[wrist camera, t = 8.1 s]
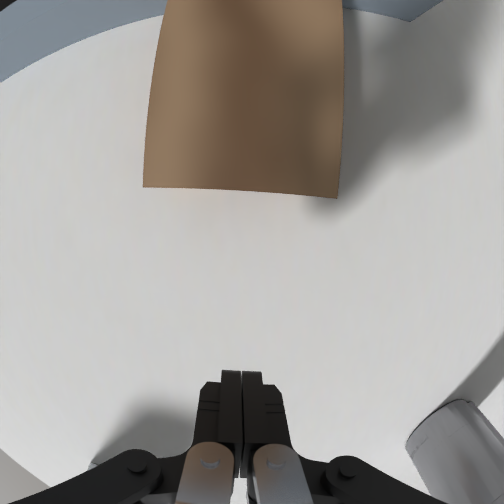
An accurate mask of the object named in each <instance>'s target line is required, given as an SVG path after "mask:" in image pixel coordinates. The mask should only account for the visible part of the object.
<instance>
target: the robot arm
mask: <svg viewBox="0 0 504 504" xmlns="http://www.w3.org/2000/svg"><path fill="white" fill-rule="evenodd" d="M406 451H407V452H408V454H409V456H410V458H411V459H412V461H413V463H414V465H415V467H416V468H417V470H418V472H419V474H420V476H421V478H422V480H423V481H424V483H425V485H426V487H427V489H428V491H429V493H430V494H431V496H429V495H427V494H425V493H423V492H421V491H419V490H417V489H415V488H412V487H410V486H408V485H406V484H404V483H402V482H400V481H399V480H397V479H395V478H393V477H391V476H389V475H387V474H385V473H384V472H382V471H380V470H378V469H376V468H375V467H373V466H371V465H369V464H368V463H366V462H364V461H362V460H361V459H359V458H357V457H354V456H339V457H336V458H334V459H333V460H331V461H330V462H329V463H326V462H319V461H313V460H309V459H306V458H304V457H302V456H300V455H299V454H298V453H297V452H295V450H294V449H293V447H292V445H291V440H290V435H289V430H288V425H287V420H286V414H285V409H284V406H283V399H282V394H281V392H280V391H279V390H278V389H277V387H276V386H275V385H263V381H262V373H261V372H256V371H242V375H241V371H233V370H222V376H221V383H219V382H207V383H206V384H205V385H204V386H203V387H202V389H201V390H200V396H199V403H198V411H197V417H196V424H195V431H194V439H193V443H192V445H191V447H190V448H189V449H188V450H187V451H186V452H185V453H183V454H181V455H178V456H174V457H167V458H156V457H155V456H154V455H153V454H151V453H150V452H147V451H145V450H140V449H132V450H127V451H125V452H123V453H121V454H119V455H117V456H115V457H113V458H112V459H110V460H108V461H106V462H104V463H102V464H100V465H98V466H96V467H94V468H92V469H90V470H88V471H86V472H84V473H82V474H80V475H78V476H76V477H74V478H72V479H69V480H67V481H65V482H63V483H60V484H58V485H56V486H54V487H51V488H49V489H46V490H44V491H41V492H39V493H36V494H34V495H31V496H29V497H26V498H23V499H21V500H18V501H15V502H12V503H9V504H230V497H231V495H232V493H233V487H234V478H238V475H239V467H240V478H247V493H246V499H247V504H504V438H503V437H502V436H501V435H500V433H499V432H498V431H497V430H496V429H495V427H494V426H493V425H492V424H491V423H490V422H489V420H488V419H487V418H486V417H485V416H484V415H483V413H482V412H481V411H480V410H479V409H478V408H477V406H476V405H475V404H474V403H473V402H472V401H471V402H469V403H467V402H466V401H465V400H456V401H454V402H451V403H449V404H447V405H445V406H444V407H442V408H441V409H439V410H438V411H436V412H435V413H434V414H432V415H431V416H430V417H429V418H427V419H426V420H425V421H424V422H423V423H422V424H421V425H420V426H419V427H418V428H417V429H416V430H415V431H414V432H413V434H412V435H411V436H410V438H409V439H408V441H407V443H406Z"/></svg>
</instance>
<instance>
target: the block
mask: <svg viewBox="0 0 504 504" xmlns="http://www.w3.org/2000/svg"><path fill="white" fill-rule="evenodd" d="M343 107H344V31H343V10H342V0H167V4H166V8H165V12H164V17H163V21H162V26H161V31H160V35H159V41H158V46H157V51H156V57H155V63H154V69H153V76H152V83H151V90H150V98H149V107H148V116H147V126H146V138H145V152H144V170H143V187H154V188H198V189H222V190H241V191H257V192H271V193H283V194H295V195H306V196H317V197H326V198H336V199H337V196H338V186H339V174H340V162H341V148H342V131H343Z"/></svg>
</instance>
